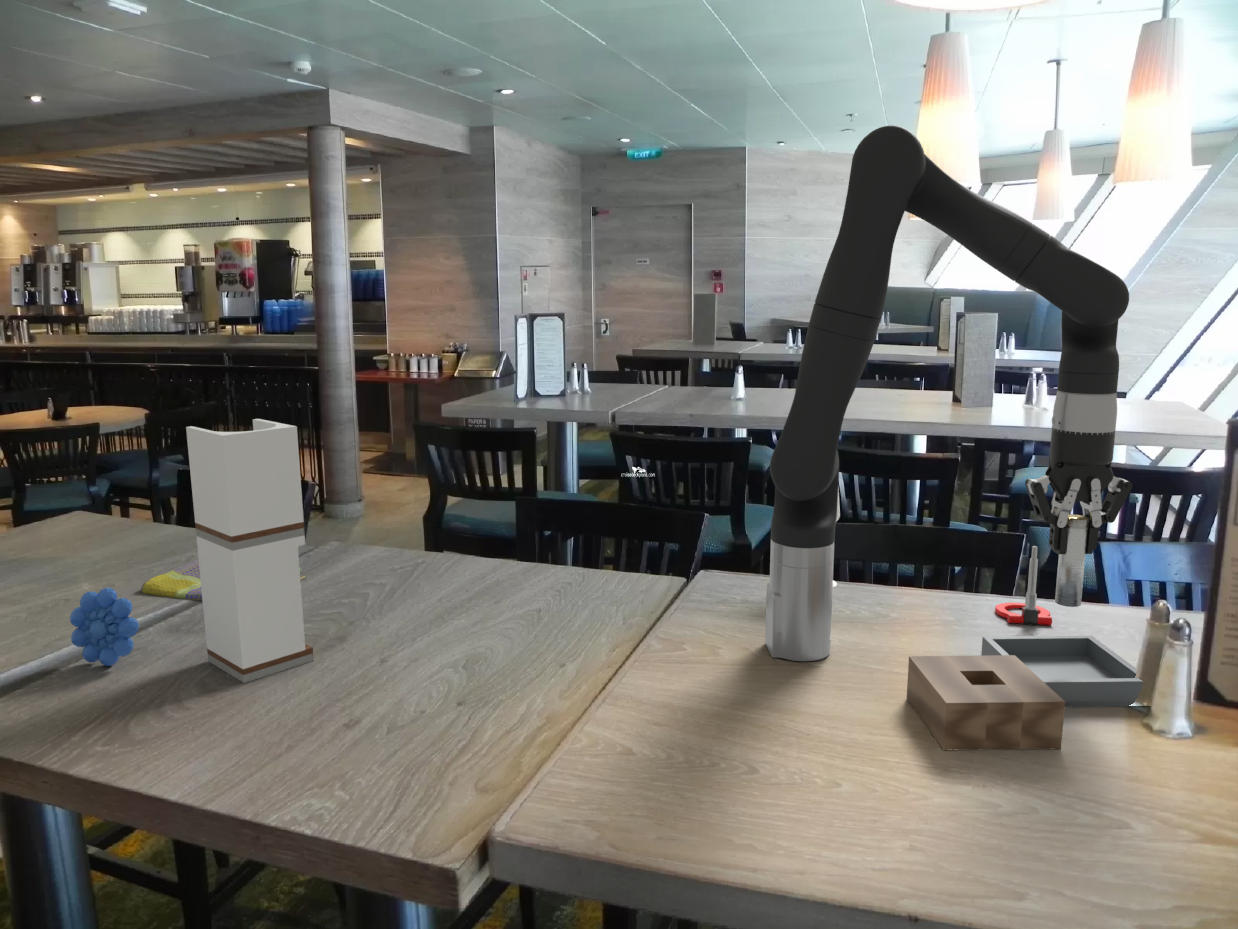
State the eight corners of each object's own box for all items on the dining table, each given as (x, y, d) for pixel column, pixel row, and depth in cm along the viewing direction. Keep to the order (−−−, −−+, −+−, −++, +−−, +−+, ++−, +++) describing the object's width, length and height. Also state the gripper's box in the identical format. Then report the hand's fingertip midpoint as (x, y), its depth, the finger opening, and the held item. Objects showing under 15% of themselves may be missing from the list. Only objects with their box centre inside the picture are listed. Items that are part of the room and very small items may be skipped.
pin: (1061, 607, 127) (1069, 520, 125) (1050, 599, 130) (1057, 514, 128) (1085, 606, 127) (1093, 520, 125) (1073, 598, 130) (1081, 514, 128)
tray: (1028, 707, 123) (1030, 682, 122) (981, 659, 138) (982, 636, 138) (1150, 706, 123) (1153, 681, 122) (1089, 658, 139) (1091, 635, 138)
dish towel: (244, 609, 163) (243, 594, 162) (134, 595, 171) (133, 580, 170) (308, 580, 179) (307, 565, 178) (206, 568, 187) (204, 554, 186)
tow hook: (989, 607, 161) (1003, 624, 152) (994, 533, 160) (1008, 546, 151) (1041, 610, 160) (1058, 627, 151) (1047, 536, 158) (1064, 548, 149)
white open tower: (313, 660, 139) (296, 426, 133) (244, 683, 132) (222, 435, 125) (276, 641, 147) (258, 418, 140) (208, 661, 139) (186, 426, 133)
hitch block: (943, 750, 112) (946, 703, 111) (906, 698, 126) (908, 656, 124) (1060, 749, 112) (1065, 701, 111) (1011, 697, 126) (1014, 655, 124)
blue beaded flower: (163, 658, 141) (155, 581, 138) (128, 676, 134) (119, 595, 132) (99, 650, 144) (90, 575, 141) (62, 668, 137) (52, 589, 135)
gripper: (1042, 430, 120) (1032, 561, 123) (1153, 430, 120) (1139, 560, 123) (1017, 422, 127) (1008, 545, 131) (1121, 421, 128) (1109, 544, 131)
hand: (1072, 552), depth 127 cm, fingers closed on pin, 3 cm apart
